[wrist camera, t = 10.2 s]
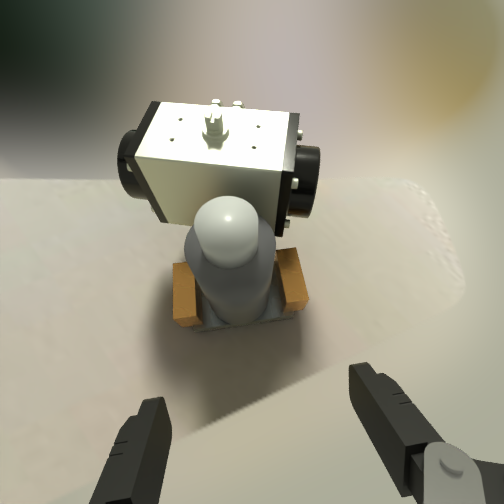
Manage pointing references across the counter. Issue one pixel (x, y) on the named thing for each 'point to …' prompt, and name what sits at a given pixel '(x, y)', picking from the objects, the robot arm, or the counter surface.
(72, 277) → the counter surface
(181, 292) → the clip bracket
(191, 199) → the pneumatic valve
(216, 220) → the bottle
